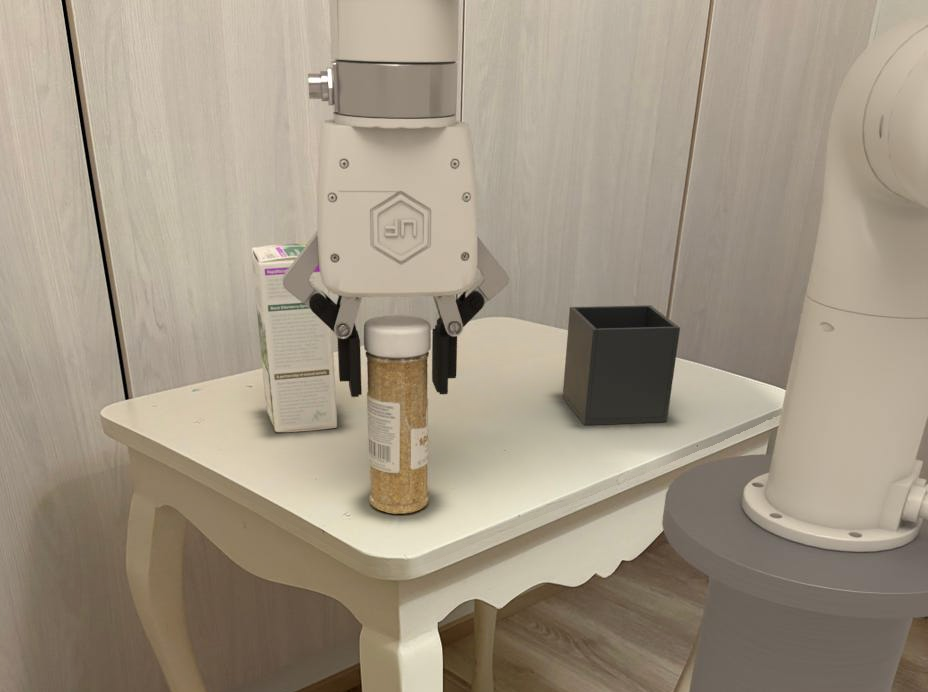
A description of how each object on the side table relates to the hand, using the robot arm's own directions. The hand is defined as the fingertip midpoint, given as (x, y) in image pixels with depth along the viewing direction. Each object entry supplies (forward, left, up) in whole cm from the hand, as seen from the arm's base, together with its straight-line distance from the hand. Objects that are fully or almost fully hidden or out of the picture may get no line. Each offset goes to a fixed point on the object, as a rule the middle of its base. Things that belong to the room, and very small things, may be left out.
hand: (397, 387), depth 70 cm
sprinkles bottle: (0, 0, -9) cm, 9 cm away
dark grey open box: (-5, -29, -9) cm, 30 cm away
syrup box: (+17, -10, -9) cm, 22 cm away
